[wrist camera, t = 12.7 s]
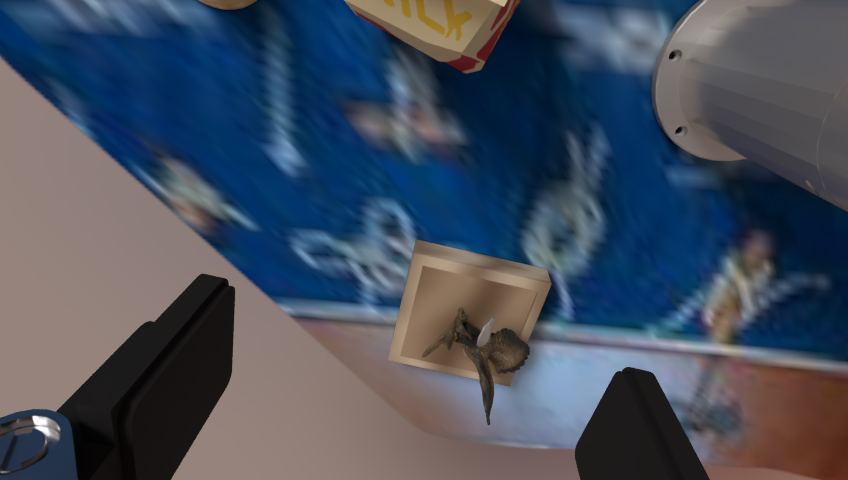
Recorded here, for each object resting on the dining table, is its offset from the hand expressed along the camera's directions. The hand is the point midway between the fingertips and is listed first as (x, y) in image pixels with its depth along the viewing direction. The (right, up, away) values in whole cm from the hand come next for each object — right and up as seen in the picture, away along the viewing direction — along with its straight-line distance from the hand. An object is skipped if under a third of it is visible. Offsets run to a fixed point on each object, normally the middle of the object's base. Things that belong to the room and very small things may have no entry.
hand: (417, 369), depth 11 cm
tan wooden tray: (+4, -3, +33) cm, 34 cm away
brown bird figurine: (+5, -6, +31) cm, 32 cm away
